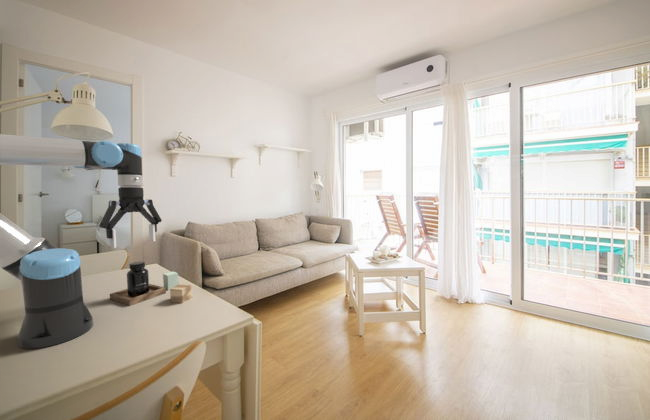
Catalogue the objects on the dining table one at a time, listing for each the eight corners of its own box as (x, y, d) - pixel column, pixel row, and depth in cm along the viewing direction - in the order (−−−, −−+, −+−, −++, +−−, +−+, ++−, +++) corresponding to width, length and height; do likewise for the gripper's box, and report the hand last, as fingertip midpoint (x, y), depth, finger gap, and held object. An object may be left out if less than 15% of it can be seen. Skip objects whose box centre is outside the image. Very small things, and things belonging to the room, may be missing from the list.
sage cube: (168, 290, 110) (167, 275, 110) (163, 288, 113) (163, 273, 112) (178, 287, 113) (177, 273, 113) (174, 285, 116) (173, 271, 115)
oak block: (182, 303, 98) (182, 289, 97) (170, 302, 99) (169, 288, 98) (192, 297, 103) (191, 284, 102) (180, 296, 104) (180, 283, 103)
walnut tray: (130, 305, 96) (129, 300, 96) (110, 299, 102) (109, 294, 102) (166, 292, 107) (165, 287, 107) (146, 287, 113) (145, 282, 113)
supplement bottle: (141, 297, 101) (139, 265, 100) (123, 297, 101) (120, 265, 100) (153, 290, 108) (151, 260, 107) (136, 290, 108) (134, 260, 107)
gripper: (95, 186, 88) (99, 251, 90) (169, 187, 110) (172, 239, 112) (84, 186, 92) (88, 249, 93) (158, 187, 114) (160, 237, 115)
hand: (134, 244), depth 103 cm, fingers open, 13 cm apart
